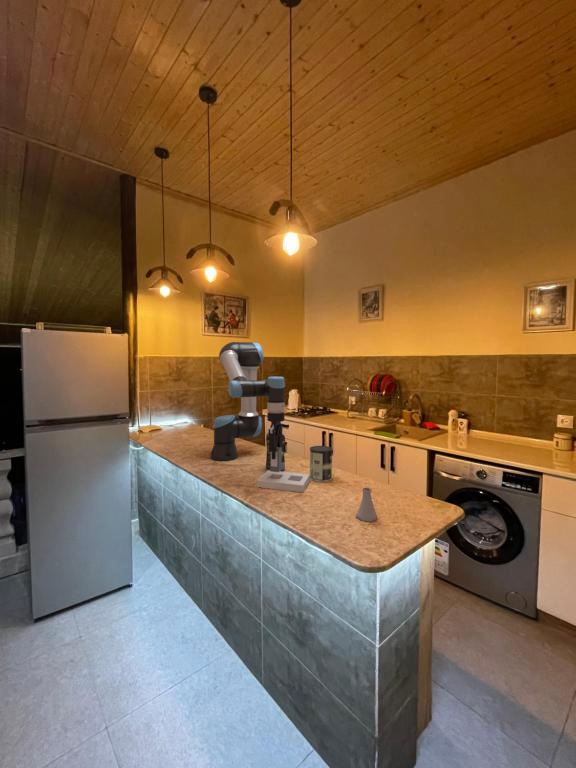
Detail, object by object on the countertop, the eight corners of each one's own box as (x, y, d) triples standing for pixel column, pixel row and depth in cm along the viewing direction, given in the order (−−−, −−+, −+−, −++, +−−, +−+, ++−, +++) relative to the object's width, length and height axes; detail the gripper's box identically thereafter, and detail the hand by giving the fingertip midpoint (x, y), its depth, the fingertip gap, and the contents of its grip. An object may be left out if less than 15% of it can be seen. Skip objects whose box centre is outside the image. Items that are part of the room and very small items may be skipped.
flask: (361, 510, 118) (362, 483, 117) (380, 516, 113) (381, 488, 113) (351, 518, 112) (352, 489, 112) (371, 524, 108) (372, 494, 107)
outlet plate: (268, 476, 153) (268, 469, 153) (309, 480, 148) (310, 473, 148) (257, 487, 140) (257, 479, 140) (302, 492, 134) (302, 484, 134)
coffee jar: (263, 468, 165) (263, 432, 164) (275, 465, 170) (275, 430, 169) (275, 473, 158) (275, 435, 157) (287, 470, 163) (287, 433, 162)
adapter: (273, 468, 147) (273, 446, 146) (281, 469, 146) (281, 446, 145) (270, 471, 143) (270, 448, 143) (278, 472, 142) (278, 449, 141)
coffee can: (330, 474, 157) (331, 445, 156) (333, 482, 146) (333, 451, 146) (309, 474, 157) (309, 445, 156) (310, 482, 147) (310, 451, 146)
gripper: (278, 415, 134) (278, 471, 135) (289, 409, 150) (289, 460, 152) (261, 414, 136) (261, 469, 137) (273, 409, 152) (273, 458, 154)
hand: (275, 464), depth 144 cm, fingers closed on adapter, 4 cm apart
